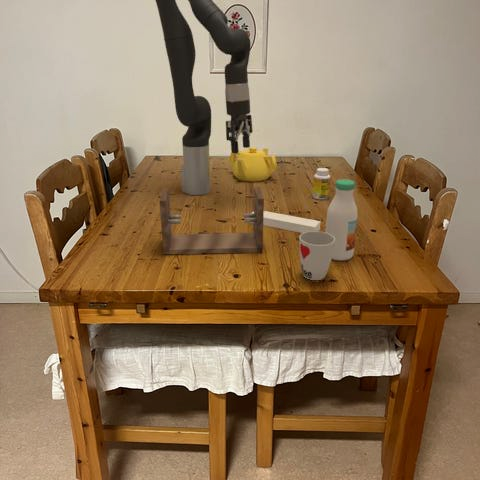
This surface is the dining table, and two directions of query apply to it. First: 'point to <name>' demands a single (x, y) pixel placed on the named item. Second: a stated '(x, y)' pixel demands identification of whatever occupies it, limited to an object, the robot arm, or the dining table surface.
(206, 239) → the shelf frame
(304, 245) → the cup
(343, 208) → the milk bottle
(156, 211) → the dining table surface
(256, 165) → the teapot
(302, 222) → the shelf board
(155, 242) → the dining table surface
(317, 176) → the supplement bottle
